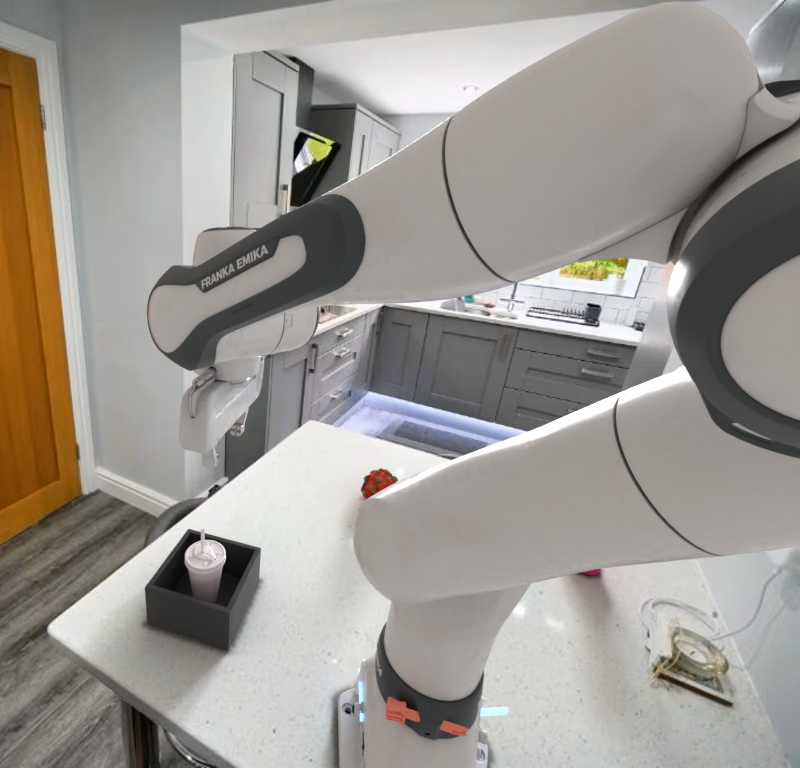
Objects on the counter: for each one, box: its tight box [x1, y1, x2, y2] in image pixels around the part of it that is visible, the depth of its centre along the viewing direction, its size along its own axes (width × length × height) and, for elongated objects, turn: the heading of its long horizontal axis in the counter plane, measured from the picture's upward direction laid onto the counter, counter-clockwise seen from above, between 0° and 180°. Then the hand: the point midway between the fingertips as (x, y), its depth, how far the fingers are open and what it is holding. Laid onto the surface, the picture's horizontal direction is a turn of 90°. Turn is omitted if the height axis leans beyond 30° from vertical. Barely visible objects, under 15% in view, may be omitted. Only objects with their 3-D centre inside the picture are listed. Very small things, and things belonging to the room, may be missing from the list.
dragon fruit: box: [360, 467, 399, 500], centre depth 98 cm, size 8×8×12 cm
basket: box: [144, 528, 262, 651], centre depth 71 cm, size 14×14×8 cm
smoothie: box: [185, 528, 226, 604], centre depth 69 cm, size 6×6×14 cm
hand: (224, 448), depth 62 cm, fingers open, 8 cm apart
